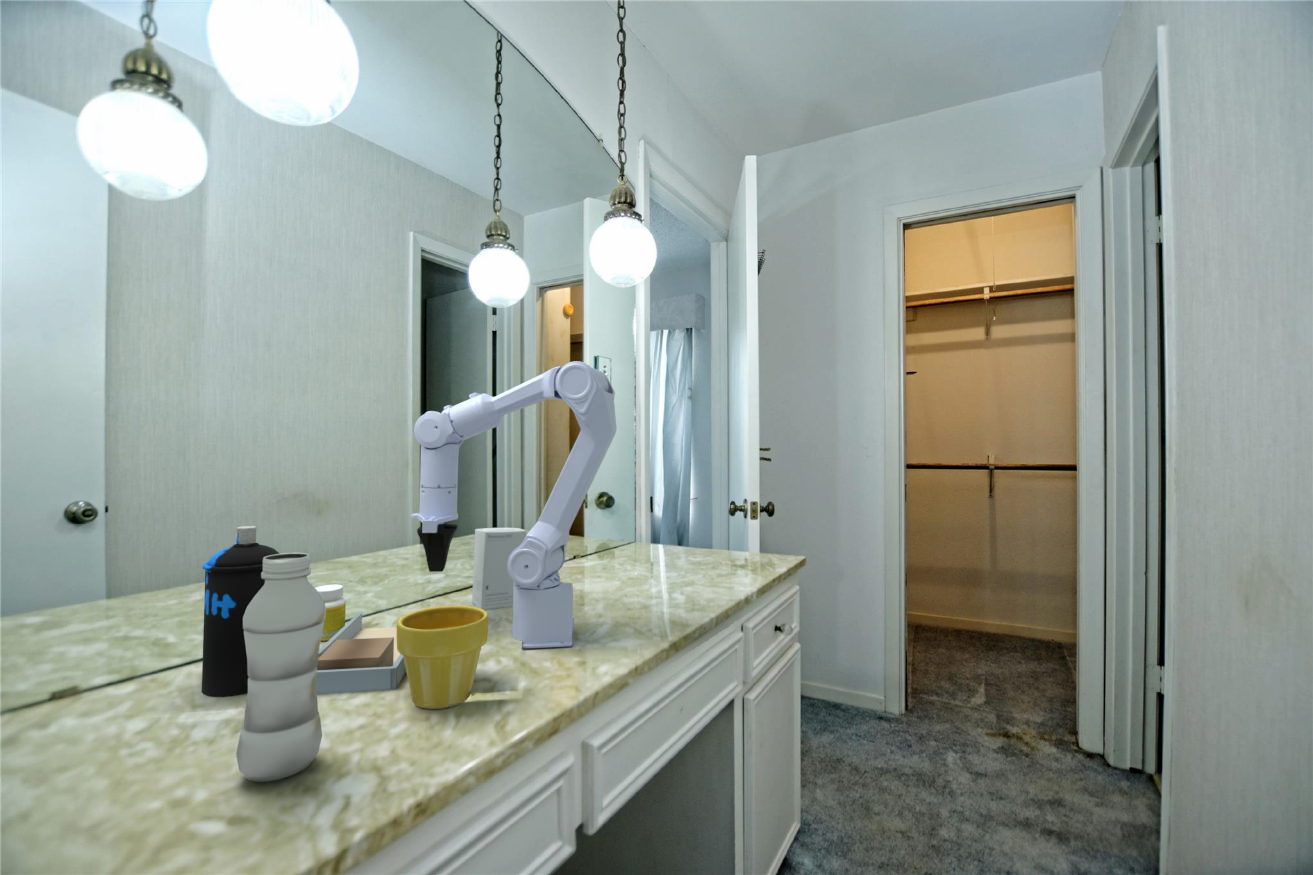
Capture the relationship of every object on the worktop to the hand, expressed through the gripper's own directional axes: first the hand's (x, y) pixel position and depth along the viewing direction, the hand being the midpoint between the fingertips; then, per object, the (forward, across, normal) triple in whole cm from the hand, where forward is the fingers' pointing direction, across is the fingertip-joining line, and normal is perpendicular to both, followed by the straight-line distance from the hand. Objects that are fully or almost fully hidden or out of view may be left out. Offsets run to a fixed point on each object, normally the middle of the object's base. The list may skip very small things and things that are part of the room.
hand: (436, 570), depth 91 cm
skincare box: (+10, -12, +9) cm, 18 cm away
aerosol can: (+10, +19, -19) cm, 29 cm away
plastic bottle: (+10, +38, -7) cm, 40 cm away
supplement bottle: (+10, +3, -15) cm, 18 cm away
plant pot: (+10, +24, +5) cm, 27 cm away
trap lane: (+10, +12, -4) cm, 16 cm away
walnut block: (+9, +19, -6) cm, 22 cm away
